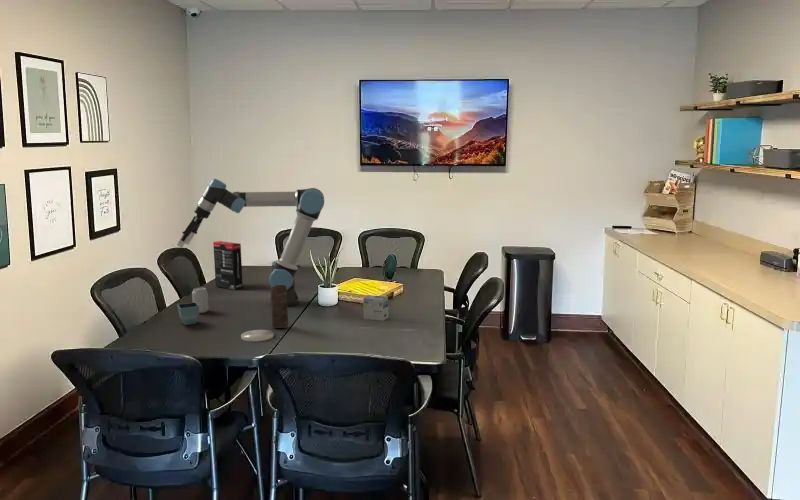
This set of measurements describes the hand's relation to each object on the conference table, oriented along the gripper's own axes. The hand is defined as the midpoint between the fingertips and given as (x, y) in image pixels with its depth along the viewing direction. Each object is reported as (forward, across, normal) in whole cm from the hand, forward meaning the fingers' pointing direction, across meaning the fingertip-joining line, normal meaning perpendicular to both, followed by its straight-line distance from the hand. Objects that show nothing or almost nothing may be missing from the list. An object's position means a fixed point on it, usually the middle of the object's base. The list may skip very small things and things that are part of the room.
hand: (182, 245), depth 323 cm
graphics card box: (+21, -59, +27) cm, 68 cm away
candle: (+5, +30, +61) cm, 68 cm away
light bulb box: (-19, +19, +99) cm, 102 cm away
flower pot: (+28, +18, +24) cm, 40 cm away
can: (+26, -4, +24) cm, 36 cm away
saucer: (+10, +44, +54) cm, 70 cm away
